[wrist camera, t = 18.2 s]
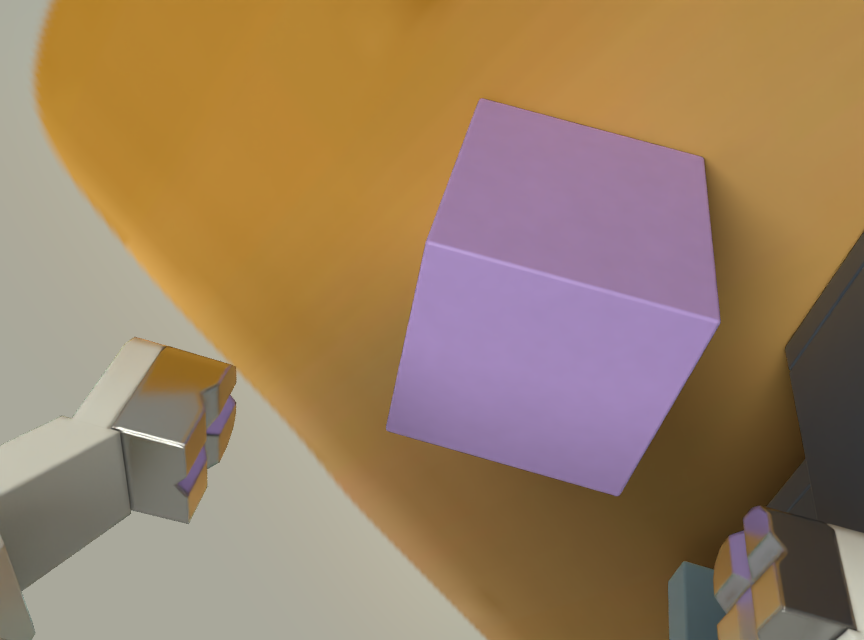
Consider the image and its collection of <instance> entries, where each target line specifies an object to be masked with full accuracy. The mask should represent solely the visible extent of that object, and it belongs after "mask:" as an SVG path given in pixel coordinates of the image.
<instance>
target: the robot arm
mask: <svg viewBox="0 0 864 640" xmlns="http://www.w3.org/2000/svg"><path fill="white" fill-rule="evenodd" d="M235 384H236V367H235V366H233V365H231V364H227V363H224V362H221V361H217V360H214V359H210V358H207V357H204V356H200V355H197V354H193V353H190V352H187V351H183V350H180V349H177V348H173V347H170V346H165V345H162V344H158V343H155V342H151V341H148V340H144V339H141V338H137V337H134V338H133V339H131V340H130V341H128V342H127V343H126V344H124V346H123V347H122V348H121V350H120V351H119V353H118V354H117V355H116V357H115V358H114V360H113V361H112V362H111V364H110V365H109V367H108V368H107V369H106V371H105V372H104V374H103V375H102V376H101V378H100V379H99V381H98V382H97V383H96V385H95V386H94V387H93V389H92V390H91V392H90V393H89V394H88V396H87V397H86V399H85V400H84V402H83V403H82V404H81V406H80V407H79V408H78V410H77V411H76V413H75V414H74V415H73V417H72V418H69V417H64V416H60V417H58V418H56V419H54V420H52V421H50V422H48V423H45V424H43V425H41V426H39V427H37V428H35V429H33V430H31V431H29V432H27V433H25V434H23V435H21V436H19V437H17V438H14V439H12V440H10V441H8V442H6V443H4V444H2V445H0V640H32V638H33V636H34V635H35V631H34V626H33V623H32V620H31V617H30V614H29V611H28V609H27V606H26V603H25V600H24V597H23V595H22V592H21V591H23V590H24V589H25V588H27V587H28V586H30V585H31V584H33V583H34V582H35V581H37V580H38V579H40V578H41V577H43V576H44V575H45V574H47V573H48V572H50V571H51V570H52V569H54V568H55V567H57V566H58V565H59V564H61V563H62V562H64V561H65V560H66V559H68V558H69V557H71V556H72V555H74V554H75V553H76V552H78V551H79V550H81V549H82V548H83V547H85V546H86V545H88V544H89V543H90V542H92V541H93V540H95V539H96V538H98V537H99V536H100V535H102V534H103V533H105V532H106V531H107V530H109V529H110V528H111V527H113V526H114V525H116V524H117V523H119V522H120V521H121V520H123V519H124V518H126V517H127V516H129V515H130V514H131V510H133V511H137V512H141V513H145V514H149V515H153V516H157V517H162V518H166V519H170V520H174V521H178V522H182V523H186V524H189V522H190V520H191V518H192V516H193V514H194V512H195V510H196V508H197V506H198V504H199V502H200V500H201V498H202V496H203V494H204V492H205V490H206V488H207V469H208V468H210V467H212V466H214V465H216V464H217V463H219V462H220V460H221V458H222V456H223V454H224V452H225V450H226V448H227V445H228V442H229V439H230V436H231V433H232V430H233V426H234V421H235V414H236V402H235V400H234V399H233V398H232V396H231V395H230V394H231V392H232V390H233V388H234V386H235ZM743 525H744V530H743V531H740V532H737V533H734V534H731V535H729V536H728V538H727V539H726V540H725V542H724V543H723V544H722V546H721V547H720V549H719V552H718V555H717V558H716V562H715V565H714V575H713V587H714V597H715V598H716V600H717V601H718V603H719V604H720V606H721V607H722V609H723V610H724V612H725V613H726V614H725V615H724V617H723V618H722V619H721V620H720V622H719V623H718V624H717V635H718V640H864V533H862V532H858V531H854V530H851V529H847V528H843V527H839V526H836V525H832V524H826V523H825V522H823V521H819V520H815V519H811V518H807V517H803V516H799V515H795V514H791V513H788V512H784V511H780V510H776V509H772V508H768V507H764V506H760V505H758V506H756V507H753V508H751V509H750V510H749V511H748V513H747V514H746V515H745V516H744V517H743Z"/></svg>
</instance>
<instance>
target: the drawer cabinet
mask: <svg viewBox="0 0 864 640" xmlns="http://www.w3.org/2000/svg"><path fill="white" fill-rule="evenodd" d="M785 351H786V357H787V362H788V367H789V370H790V379H791V384H792V390H793V395H794V400H795V406H796V411H797V416H798V421H799V427H800V432H801V437H802V443H803V448H804V453H805V458H806V464H807V469H808V474H809V480H810V485H811V490H812V495H813V501H814V506H815V511H816V517H817V520H819V521H823V522H825V523H826V524H832V525H836V526H839V527H843V528H847V529H851V530H854V531H858V532H862V533H864V232H863V234H862V235H861V237H860V238H859V240H858V241H857V243H856V244H855V246H854V247H853V249H852V250H851V252H850V253H849V254H848V256H847V257H846V259H845V260H844V262H843V263H842V265H841V266H840V268H839V269H838V271H837V272H836V274H835V275H834V277H833V278H832V279H831V281H830V282H829V284H828V285H827V287H826V288H825V290H824V291H823V293H822V294H821V296H820V297H819V299H818V300H817V302H816V303H815V304H814V306H813V307H812V309H811V310H810V312H809V313H808V315H807V316H806V318H805V319H804V321H803V322H802V324H801V325H800V327H799V328H798V329H797V331H796V332H795V334H794V335H793V337H792V338H791V340H790V341H789V343H788V344H787V346H786V347H785Z"/></svg>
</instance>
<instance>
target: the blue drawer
mask: <svg viewBox="0 0 864 640" xmlns="http://www.w3.org/2000/svg"><path fill="white" fill-rule="evenodd" d="M766 507H768V508H772V509H776V510H780V511H784V512H788V513H791V514H795V515H799V516H803V517H807V518H811V519H815V520H817V517H816V511H815V506H814V501H813V495H812V490H811V485H810V480H809V474H808V469H807V464H806V458H805V460H804V461H803V462H802V463H801V465H800V466H799V467H798V468H797V470H796V471H795V472H794V473H793V474H792V476H791V477H790V478H789V479H788V481H787V482H786V483H785V484H784V486H783V487H782V488H781V489H780V490H779V492H778V493H777V494H776V495H775V497H774V498H773V499H772V500H771V501H770V503H769V504H768V505H767V506H766ZM713 575H714V569H711V568H707V567H704V566H700V565H697V564H693V563H690V562H686V561H684V562H682V564H681V565H680V566H679V568H678V569H677V570H676V572H675V573H674V574H673V576H672V577H671V578H670V580H669V581H668V599H669V640H718V635H717V624H718V623H719V622H720V620H721V619H722V618H723V617H724V615H725V614H726V613H725V612H724V610H723V609H722V607H721V606H720V604H719V603H718V601H717V600H716V598H715V597H714V587H713Z"/></svg>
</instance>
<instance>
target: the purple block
mask: <svg viewBox="0 0 864 640" xmlns="http://www.w3.org/2000/svg"><path fill="white" fill-rule="evenodd" d="M720 323H721V319H720V310H719V300H718V290H717V281H716V271H715V261H714V251H713V242H712V232H711V222H710V212H709V203H708V193H707V183H706V174H705V164H704V158H703V157H700V156H697V155H693V154H689V153H685V152H682V151H678V150H674V149H670V148H667V147H663V146H659V145H655V144H652V143H648V142H644V141H640V140H637V139H633V138H629V137H625V136H622V135H618V134H614V133H610V132H607V131H603V130H599V129H595V128H592V127H588V126H584V125H580V124H577V123H573V122H569V121H565V120H562V119H558V118H554V117H550V116H547V115H543V114H539V113H535V112H532V111H528V110H524V109H520V108H517V107H513V106H509V105H505V104H502V103H498V102H494V101H490V100H486V99H483V98H482V99H480V100H479V101H478V104H477V107H476V109H475V112H474V115H473V117H472V120H471V123H470V125H469V128H468V131H467V133H466V136H465V139H464V141H463V144H462V147H461V149H460V152H459V155H458V157H457V160H456V163H455V165H454V168H453V171H452V173H451V176H450V179H449V181H448V184H447V187H446V189H445V192H444V195H443V198H442V200H441V203H440V206H439V208H438V211H437V214H436V216H435V219H434V222H433V224H432V227H431V230H430V232H429V235H428V238H427V240H426V244H425V248H424V253H423V258H422V262H421V267H420V271H419V276H418V281H417V285H416V290H415V295H414V299H413V304H412V309H411V313H410V318H409V322H408V327H407V332H406V336H405V341H404V346H403V350H402V355H401V360H400V364H399V369H398V373H397V378H396V383H395V387H394V392H393V397H392V401H391V406H390V411H389V415H388V420H387V424H386V430H387V431H389V432H392V433H396V434H399V435H403V436H406V437H410V438H413V439H417V440H420V441H424V442H427V443H431V444H434V445H438V446H442V447H445V448H449V449H452V450H456V451H459V452H463V453H466V454H470V455H473V456H477V457H480V458H484V459H487V460H491V461H494V462H498V463H501V464H505V465H508V466H512V467H516V468H519V469H523V470H526V471H530V472H533V473H537V474H540V475H544V476H547V477H551V478H554V479H558V480H561V481H565V482H568V483H572V484H575V485H579V486H582V487H586V488H590V489H593V490H597V491H600V492H604V493H607V494H611V495H614V496H620V494H621V493H622V491H623V489H624V487H625V486H626V484H627V482H628V481H629V479H630V477H631V475H632V474H633V472H634V470H635V469H636V467H637V465H638V463H639V462H640V460H641V458H642V457H643V455H644V453H645V451H646V450H647V448H648V446H649V445H650V443H651V441H652V439H653V438H654V436H655V434H656V433H657V431H658V429H659V427H660V426H661V424H662V422H663V421H664V419H665V417H666V415H667V414H668V412H669V410H670V409H671V407H672V405H673V404H674V402H675V400H676V398H677V397H678V395H679V393H680V392H681V390H682V388H683V386H684V385H685V383H686V381H687V380H688V378H689V376H690V374H691V373H692V371H693V369H694V368H695V366H696V364H697V362H698V361H699V359H700V357H701V356H702V354H703V352H704V350H705V349H706V347H707V345H708V344H709V342H710V340H711V338H712V337H713V335H714V333H715V332H716V330H717V328H718V326H719V325H720Z"/></svg>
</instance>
